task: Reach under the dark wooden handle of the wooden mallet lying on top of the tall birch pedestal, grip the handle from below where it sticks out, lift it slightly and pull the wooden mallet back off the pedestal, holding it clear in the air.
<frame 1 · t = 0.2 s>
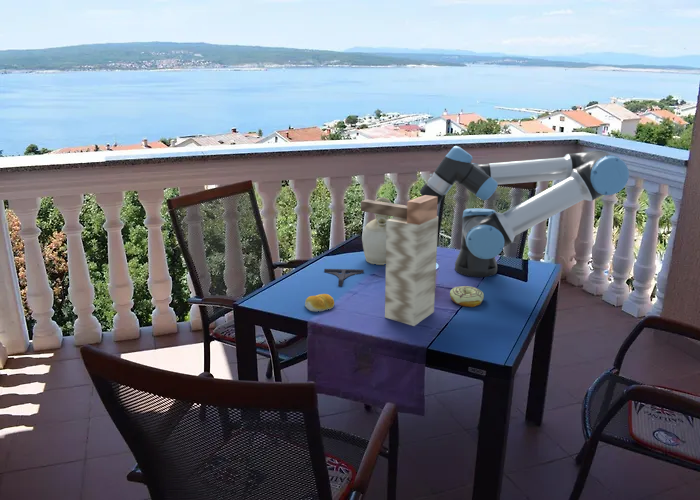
hand: (397, 239, 188), 15 cm above the table, tool tilted 35°, fingers open, 13 cm apart
bread roll: (319, 307, 172), on the table
wooden mallet: (409, 217, 157), point 30 cm above the table, touching stand
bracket: (342, 280, 195), on the table
jug: (381, 260, 214), on the table
stand: (409, 314, 166), on the table
decorated donut: (466, 302, 176), on the table
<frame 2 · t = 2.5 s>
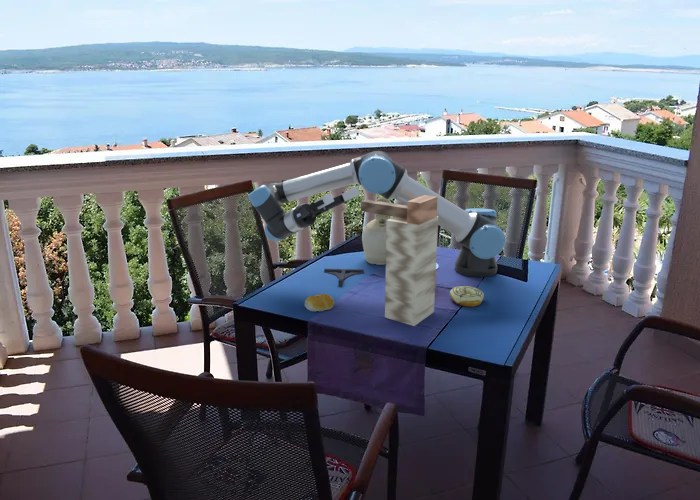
hand: (345, 193, 168), 34 cm above the table, tool pointing upward, fingers open, 13 cm apart
nothing on the table moved.
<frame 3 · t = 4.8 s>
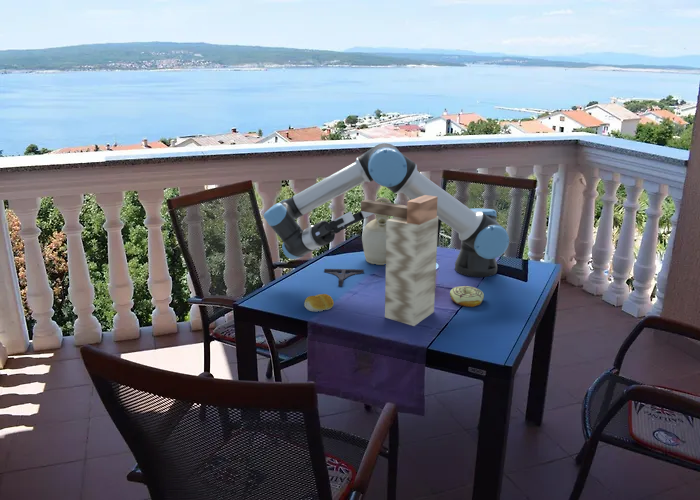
hand: (365, 210, 165), 30 cm above the table, tool pointing upward, fingers open, 13 cm apart
nothing on the table moved.
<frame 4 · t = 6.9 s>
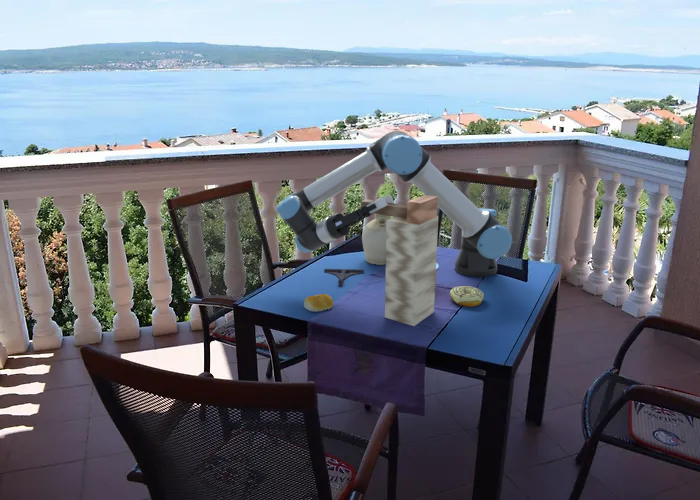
hand: (388, 200, 160), 34 cm above the table, tool pointing upward, fingers closed on wooden mallet, 3 cm apart
wooden mallet: (409, 217, 157), point 30 cm above the table, touching gripper, stand
everything else where it was.
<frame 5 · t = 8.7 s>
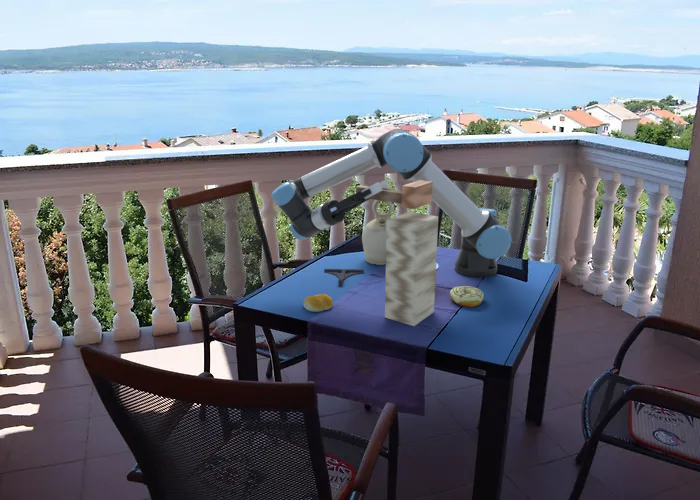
hand: (383, 185, 159), 38 cm above the table, tool pointing upward, fingers closed on wooden mallet, 3 cm apart
wooden mallet: (404, 202, 156), point 34 cm above the table, touching gripper
everything else where it was.
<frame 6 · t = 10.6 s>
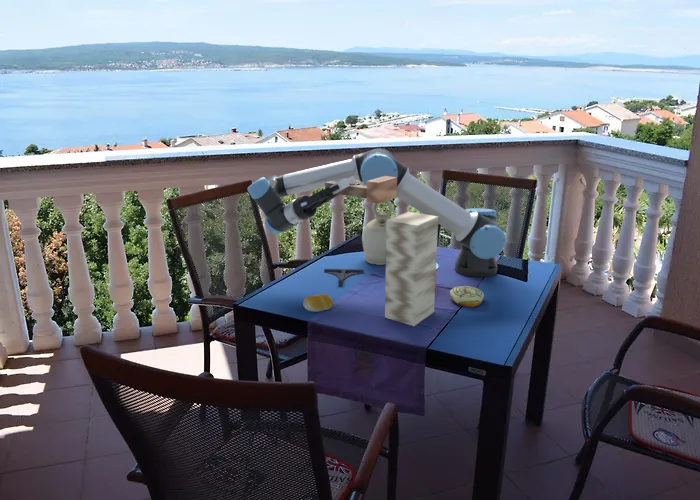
hand: (350, 181, 166), 38 cm above the table, tool pointing upward, fingers closed on wooden mallet, 3 cm apart
wooden mallet: (370, 197, 163), point 34 cm above the table, touching gripper
everything else where it was.
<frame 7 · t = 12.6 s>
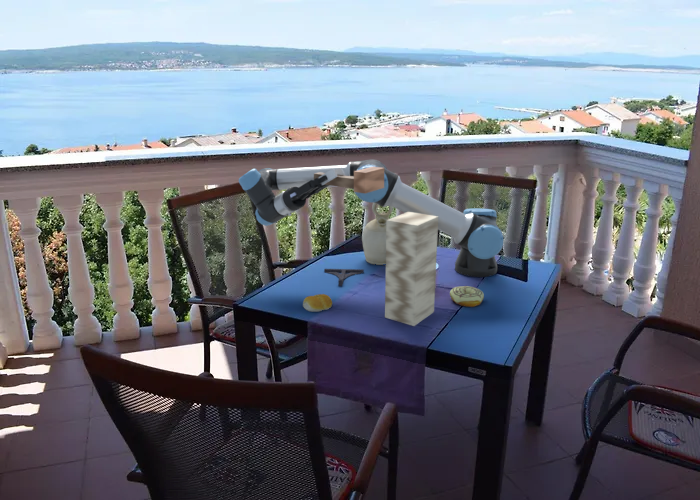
hand: (338, 171, 168), 41 cm above the table, tool pointing upward, fingers closed on wooden mallet, 3 cm apart
wooden mallet: (358, 188, 165), point 36 cm above the table, touching gripper
everything else where it was.
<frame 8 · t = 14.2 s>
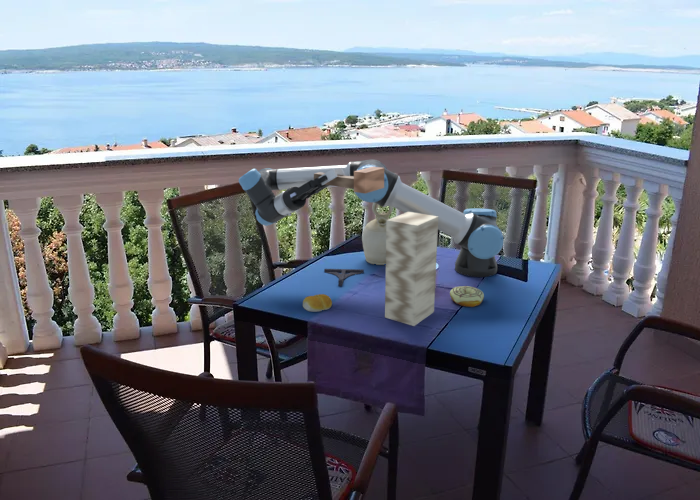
hand: (338, 171, 168), 41 cm above the table, tool pointing upward, fingers closed on wooden mallet, 3 cm apart
wooden mallet: (358, 188, 165), point 36 cm above the table, touching gripper
everything else where it was.
at the end: the gripper is holding wooden mallet; wooden mallet touching gripper; wooden mallet inside the target area (0.0 cm from its centre), point 36.4 cm above the table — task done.
